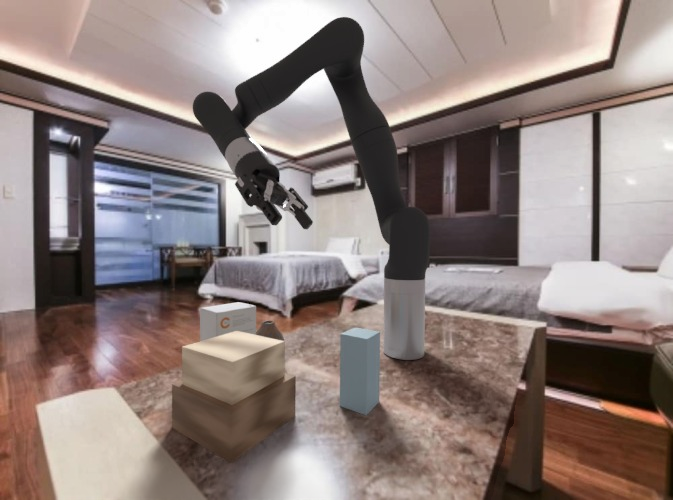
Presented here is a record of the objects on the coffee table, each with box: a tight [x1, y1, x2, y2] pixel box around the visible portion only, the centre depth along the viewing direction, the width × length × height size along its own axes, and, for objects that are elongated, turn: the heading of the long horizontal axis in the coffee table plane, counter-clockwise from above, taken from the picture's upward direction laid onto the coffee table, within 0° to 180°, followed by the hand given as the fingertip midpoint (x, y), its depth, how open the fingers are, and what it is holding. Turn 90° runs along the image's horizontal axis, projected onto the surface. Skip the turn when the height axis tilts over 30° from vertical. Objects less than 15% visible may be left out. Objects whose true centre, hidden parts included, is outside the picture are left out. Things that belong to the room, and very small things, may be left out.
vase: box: [256, 320, 285, 341], centre depth 60 cm, size 7×7×9 cm
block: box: [339, 327, 381, 416], centre depth 45 cm, size 4×4×11 cm
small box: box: [199, 301, 257, 342], centre depth 54 cm, size 8×6×13 cm
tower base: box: [171, 372, 297, 464], centre depth 40 cm, size 11×12×6 cm
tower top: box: [181, 331, 286, 405], centre depth 40 cm, size 9×10×5 cm
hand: (294, 224), depth 52 cm, fingers open, 8 cm apart
